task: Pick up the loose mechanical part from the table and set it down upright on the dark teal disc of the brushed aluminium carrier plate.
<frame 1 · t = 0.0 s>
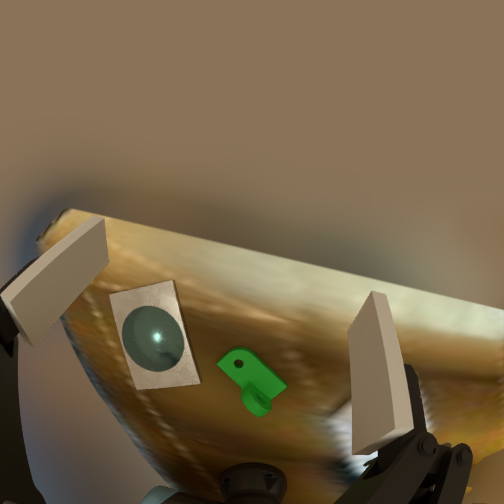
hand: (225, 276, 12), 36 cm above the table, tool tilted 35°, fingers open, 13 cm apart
carrier plate: (154, 338, 48), on the table
mechanical part: (252, 372, 47), on the table
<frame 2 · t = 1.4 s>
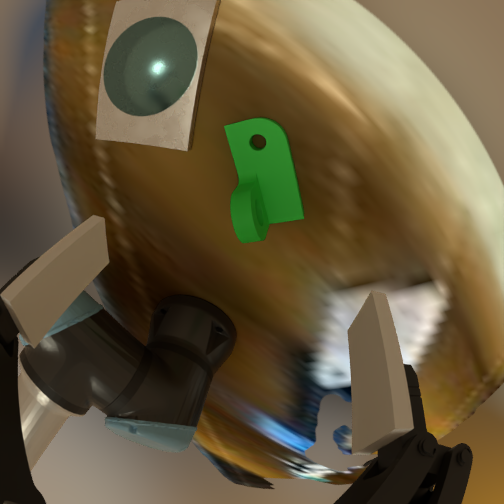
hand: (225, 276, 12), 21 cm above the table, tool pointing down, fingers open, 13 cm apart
carrier plate: (151, 65, 25), on the table
mechanical part: (268, 167, 30), on the table
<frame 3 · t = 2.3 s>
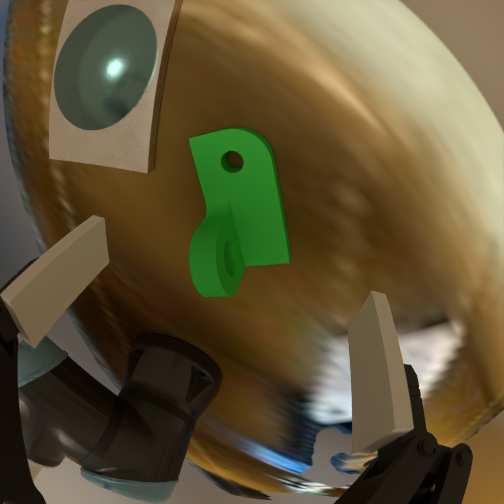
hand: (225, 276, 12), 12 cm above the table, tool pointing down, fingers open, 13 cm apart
carrier plate: (105, 65, 18), on the table
mechanical part: (246, 193, 23), on the table
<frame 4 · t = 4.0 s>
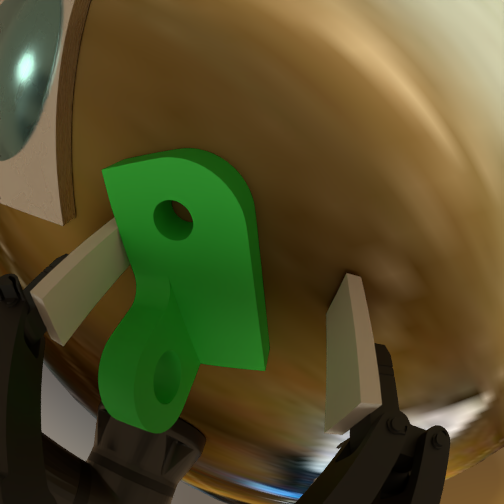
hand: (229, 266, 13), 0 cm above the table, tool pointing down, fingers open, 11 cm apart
carrier plate: (15, 66, 9), on the table
mechanical part: (205, 262, 14), on the table, touching gripper
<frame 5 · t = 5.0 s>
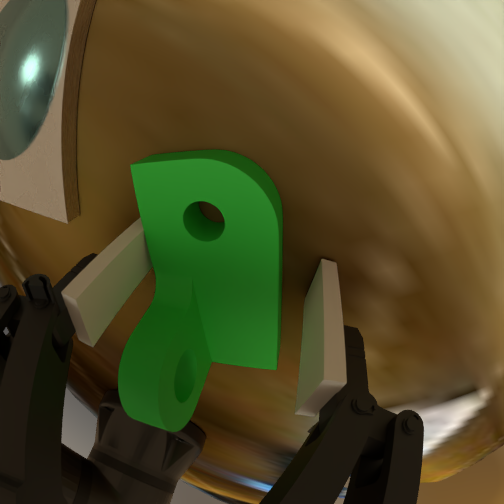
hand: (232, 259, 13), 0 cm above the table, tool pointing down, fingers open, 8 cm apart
carrier plate: (20, 67, 9), on the table
mechanical part: (225, 263, 14), on the table, touching gripper
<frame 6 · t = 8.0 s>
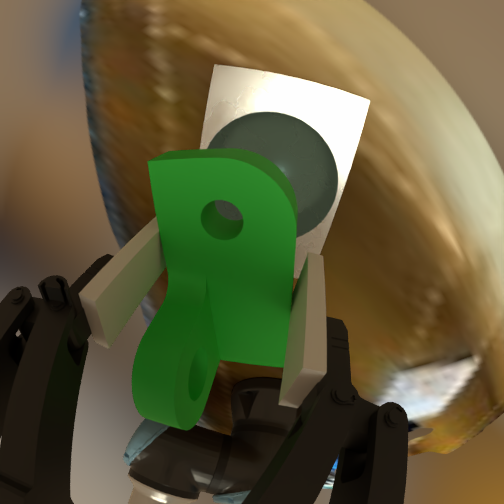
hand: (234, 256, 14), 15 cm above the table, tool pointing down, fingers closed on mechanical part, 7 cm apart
carrier plate: (269, 176, 26), on the table
mechanical part: (237, 261, 15), point 14 cm above the table, touching gripper
when the fingers open (2 cm above the table, at t = 10.9 s): mechanical part stays where it is, resting on carrier plate.
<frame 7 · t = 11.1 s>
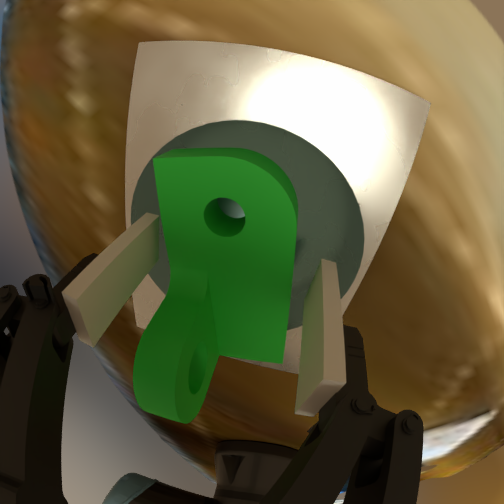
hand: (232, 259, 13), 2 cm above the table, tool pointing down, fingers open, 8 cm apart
carrier plate: (243, 235, 15), on the table
mechanical part: (238, 258, 15), point 1 cm above the table, touching carrier plate
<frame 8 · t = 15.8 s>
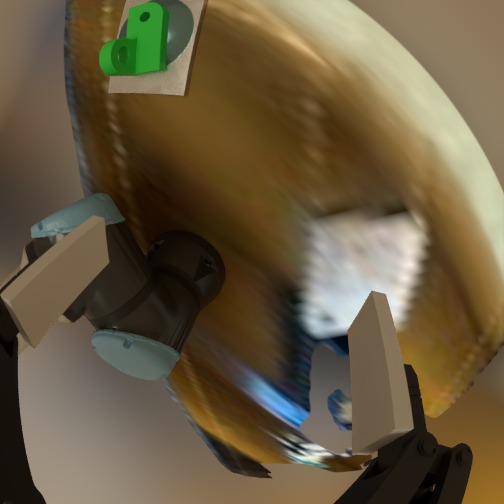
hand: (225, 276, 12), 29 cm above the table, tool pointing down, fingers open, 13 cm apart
carrier plate: (157, 34, 29), on the table
mechanical part: (150, 38, 28), point 1 cm above the table, touching carrier plate
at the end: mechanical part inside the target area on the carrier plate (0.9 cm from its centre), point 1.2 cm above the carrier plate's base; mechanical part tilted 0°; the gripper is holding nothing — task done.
